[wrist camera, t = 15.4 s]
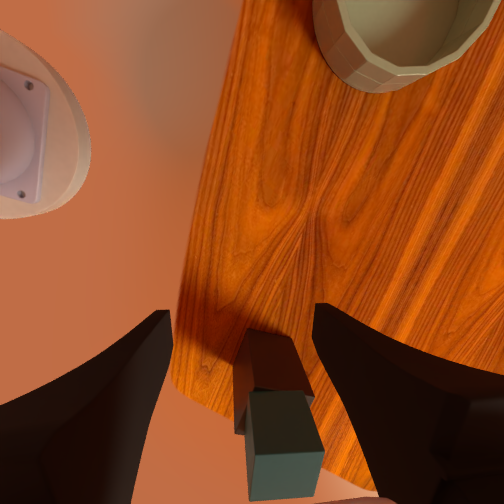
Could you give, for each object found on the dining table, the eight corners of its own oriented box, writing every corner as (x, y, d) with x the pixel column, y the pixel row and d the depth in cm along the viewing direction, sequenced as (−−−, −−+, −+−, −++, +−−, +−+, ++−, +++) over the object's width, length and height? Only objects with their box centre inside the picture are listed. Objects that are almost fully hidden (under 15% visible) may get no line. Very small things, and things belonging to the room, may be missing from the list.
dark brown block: (232, 366, 25) (234, 434, 18) (247, 327, 24) (254, 386, 17) (275, 374, 26) (291, 442, 19) (291, 338, 25) (315, 397, 18)
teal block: (244, 432, 18) (248, 502, 14) (248, 390, 17) (254, 455, 13) (295, 430, 19) (314, 497, 15) (303, 389, 18) (325, 451, 14)
